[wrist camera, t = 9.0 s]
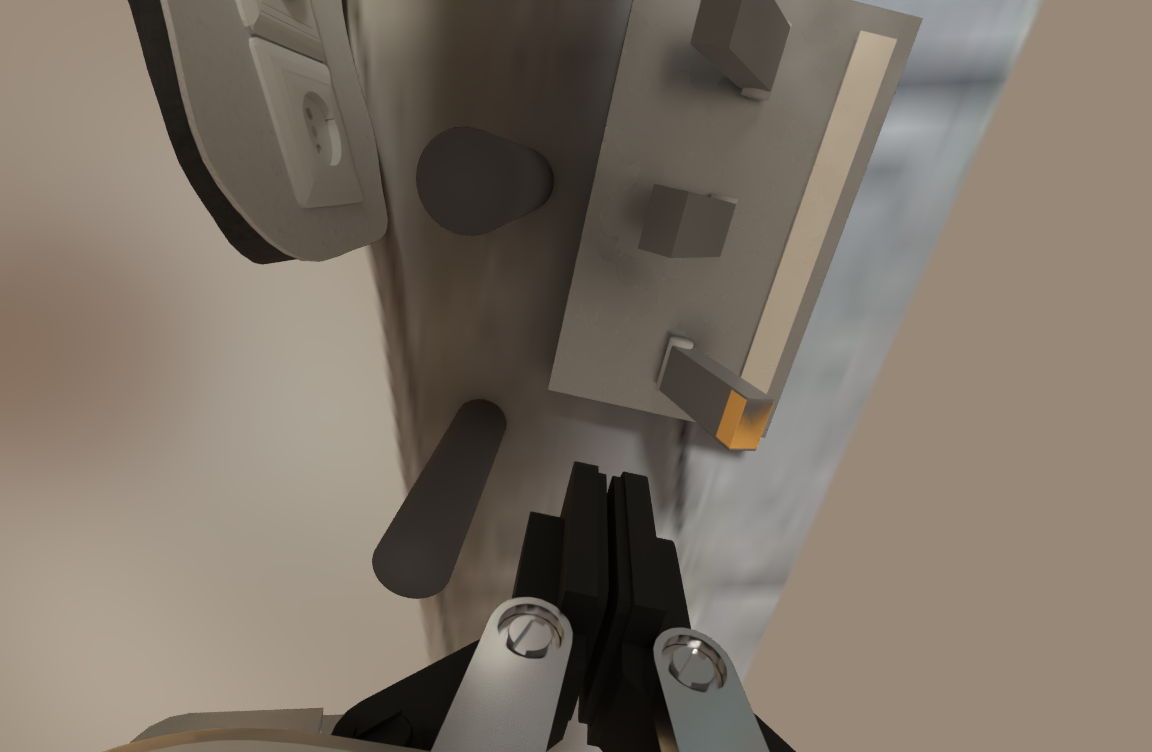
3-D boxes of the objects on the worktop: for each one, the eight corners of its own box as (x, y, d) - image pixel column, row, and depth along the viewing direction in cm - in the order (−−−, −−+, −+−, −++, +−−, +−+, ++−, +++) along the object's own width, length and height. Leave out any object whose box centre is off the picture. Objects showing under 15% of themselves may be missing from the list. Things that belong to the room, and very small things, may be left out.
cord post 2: (500, 142, 28) (423, 116, 16) (558, 156, 28) (527, 140, 16) (490, 203, 29) (410, 223, 17) (547, 216, 29) (508, 245, 17)
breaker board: (640, -31, 25) (645, -54, 23) (893, 32, 26) (925, 16, 23) (551, 374, 32) (547, 391, 29) (752, 418, 32) (765, 439, 30)
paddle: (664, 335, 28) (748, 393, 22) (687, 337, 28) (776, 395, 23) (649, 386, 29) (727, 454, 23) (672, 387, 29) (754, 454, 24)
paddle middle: (714, 194, 26) (655, 178, 20) (743, 201, 25) (690, 186, 20) (697, 253, 27) (636, 253, 21) (724, 261, 26) (669, 263, 21)
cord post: (459, 394, 33) (376, 525, 20) (510, 405, 33) (456, 542, 20) (452, 439, 34) (368, 589, 21) (501, 450, 34) (445, 605, 22)
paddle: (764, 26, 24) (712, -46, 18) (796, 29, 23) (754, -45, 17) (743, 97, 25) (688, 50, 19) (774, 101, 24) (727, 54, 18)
